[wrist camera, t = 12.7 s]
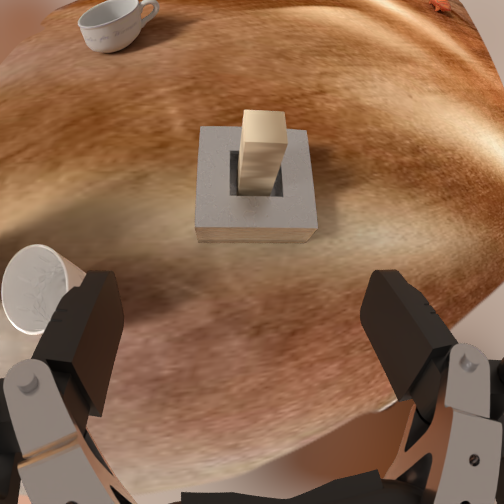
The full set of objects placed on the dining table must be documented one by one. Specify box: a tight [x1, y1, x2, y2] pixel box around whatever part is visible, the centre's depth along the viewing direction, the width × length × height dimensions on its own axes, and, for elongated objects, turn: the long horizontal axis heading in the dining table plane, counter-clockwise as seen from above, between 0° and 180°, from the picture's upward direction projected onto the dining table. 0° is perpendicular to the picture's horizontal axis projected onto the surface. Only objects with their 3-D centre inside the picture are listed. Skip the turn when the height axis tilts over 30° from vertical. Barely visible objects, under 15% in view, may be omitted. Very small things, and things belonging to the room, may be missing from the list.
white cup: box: [1, 244, 86, 335], centre depth 26 cm, size 8×8×10 cm
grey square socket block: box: [195, 126, 318, 243], centre depth 34 cm, size 12×12×5 cm
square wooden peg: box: [237, 110, 288, 196], centre depth 30 cm, size 3×3×12 cm
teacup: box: [78, 0, 159, 53], centre depth 39 cm, size 14×11×8 cm
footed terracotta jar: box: [429, 0, 451, 12], centre depth 59 cm, size 8×8×7 cm
